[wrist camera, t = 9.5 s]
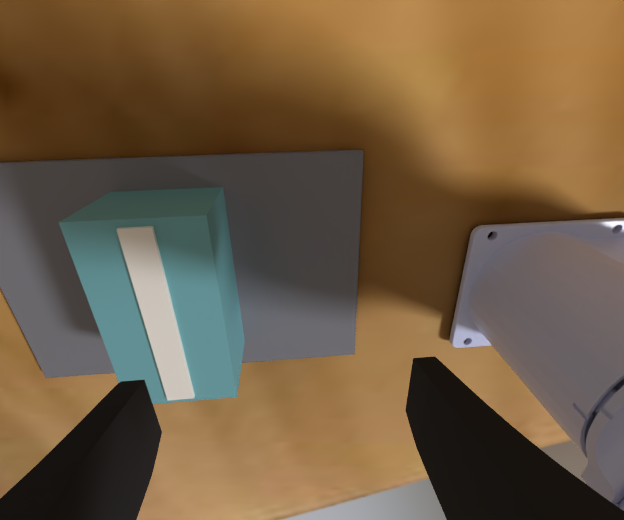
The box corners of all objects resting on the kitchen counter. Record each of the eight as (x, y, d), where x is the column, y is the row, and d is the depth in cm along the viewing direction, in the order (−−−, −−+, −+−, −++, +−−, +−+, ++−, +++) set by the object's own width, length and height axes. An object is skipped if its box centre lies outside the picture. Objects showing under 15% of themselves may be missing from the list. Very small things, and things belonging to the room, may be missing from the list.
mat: (361, 149, 16) (363, 150, 15) (353, 349, 21) (354, 354, 21) (-53, 164, 14) (-61, 165, 14) (50, 372, 20) (45, 378, 19)
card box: (244, 341, 20) (236, 399, 16) (155, 347, 19) (126, 408, 16) (223, 186, 16) (205, 216, 12) (110, 191, 15) (55, 224, 11)
